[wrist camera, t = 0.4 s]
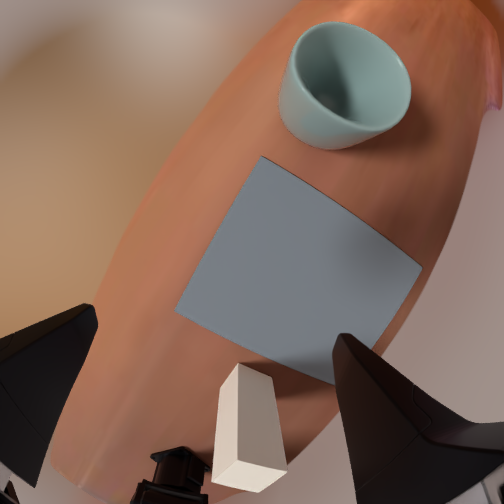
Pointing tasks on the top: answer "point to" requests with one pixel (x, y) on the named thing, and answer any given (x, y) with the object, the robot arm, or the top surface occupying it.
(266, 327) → the slate mat
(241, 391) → the block
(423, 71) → the top surface
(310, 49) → the cup
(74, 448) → the top surface
